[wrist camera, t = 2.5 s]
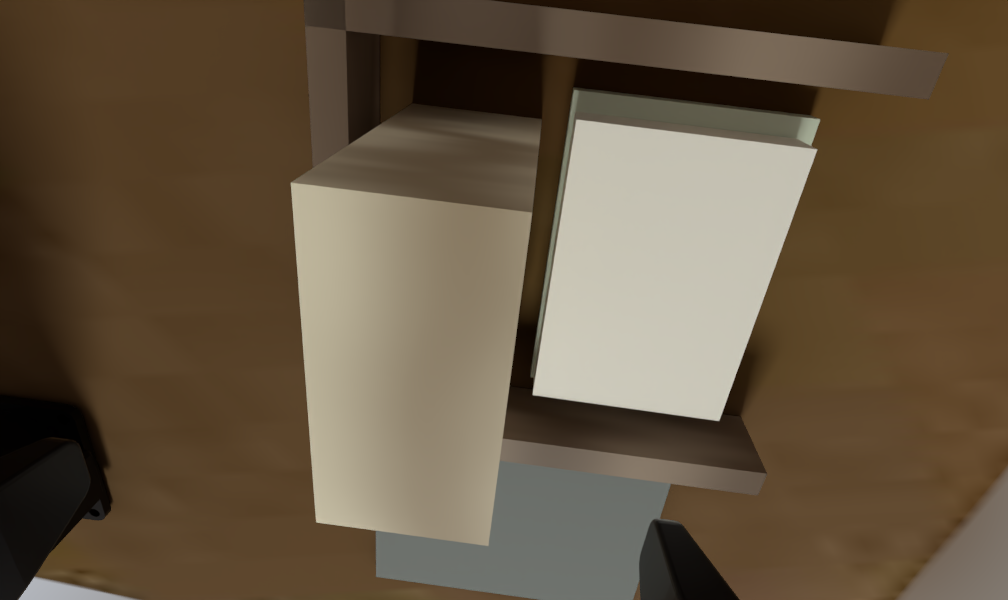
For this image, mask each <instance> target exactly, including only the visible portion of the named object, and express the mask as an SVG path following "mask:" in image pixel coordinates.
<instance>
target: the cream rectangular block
mask: <svg viewBox="0 0 1008 600" xmlns="http://www.w3.org/2000/svg"><path fill="white" fill-rule="evenodd" d="M541 124H542V119H537V118H529V117H521V116H512V115H504V114H496V113H487V112H479V111H471V110H463V109H454V108H446V107H438V106H429V105H421V104H413V103H412V104H411V105H409V106H408V107H406V108H405V109H403V110H402V111H400V112H398V113H397V114H395V115H394V116H392V117H391V118H389V119H388V120H386V121H385V122H383V123H382V124H380V125H379V126H377V127H375V128H374V129H372V130H371V131H369V132H368V133H366V134H365V135H363V136H362V137H360V138H359V139H357V140H355V141H354V142H352V143H351V144H349V145H348V146H346V147H345V148H343V149H342V150H340V151H339V152H337V153H336V154H334V155H332V156H331V157H329V158H328V159H326V160H325V161H323V162H322V163H320V164H319V165H317V166H316V167H314V168H312V169H311V170H309V171H308V172H306V173H305V174H303V175H302V176H300V177H299V178H297V179H296V180H294V181H293V182H291V192H292V205H293V219H294V232H295V245H296V259H297V272H298V286H299V299H300V312H301V326H302V339H303V353H304V366H305V379H306V393H307V406H308V420H309V433H310V446H311V460H312V473H313V486H314V500H315V513H316V522H317V523H325V524H332V525H339V526H347V527H354V528H361V529H368V530H376V531H383V532H390V533H397V534H405V535H412V536H419V537H427V538H434V539H441V540H448V541H456V542H463V543H470V544H477V545H485V546H488V545H489V537H490V530H491V522H492V515H493V507H494V499H495V492H496V484H497V477H498V469H499V461H500V454H501V446H502V439H503V431H504V424H505V416H506V408H507V401H508V393H509V386H510V378H511V370H512V363H513V355H514V348H515V340H516V333H517V325H518V317H519V310H520V302H521V295H522V287H523V279H524V272H525V264H526V257H527V249H528V242H529V234H530V226H531V219H532V211H533V201H534V192H535V182H536V172H537V163H538V153H539V144H540V134H541Z"/></svg>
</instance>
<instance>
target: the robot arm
mask: <svg viewBox="0 0 1008 600" xmlns="http://www.w3.org/2000/svg"><path fill="white" fill-rule="evenodd" d="M110 511H111V506H110V503H109V500H108V497H107V494H106V490H105V487H104V484H103V481H102V477H101V474H100V471H99V468H98V465H97V461H96V458H95V455H94V452H93V448H92V445H91V442H90V439H89V436H88V432H87V429H86V426H85V423H84V419H83V416H82V414H81V412H80V411H79V410H78V409H77V408H75V407H74V406H71V405H67V404H60V403H53V402H45V401H38V400H30V399H23V398H15V397H8V396H0V600H18V599H19V598H20V597H21V595H22V594H23V592H24V591H25V590H26V588H27V587H28V585H29V584H30V582H31V581H32V579H33V578H34V576H35V575H36V573H37V572H38V570H39V569H40V567H41V566H42V564H43V562H44V561H45V559H46V558H47V556H48V555H49V553H50V552H51V551H52V550H53V549H54V548H55V547H56V546H57V545H58V544H59V543H60V542H61V541H62V539H63V538H64V537H65V536H66V535H67V534H68V533H69V532H70V531H71V530H72V529H73V528H74V527H75V525H76V524H77V523H78V522H79V521H80V520H81V519H82V518H84V519H91V520H102V519H104V518H105V517H106V516H107V515H108V513H109V512H110ZM639 578H640V596H641V600H739V598H738V597H737V596H736V594H735V593H734V592H733V591H732V589H731V588H730V587H729V585H728V584H727V583H726V581H725V580H724V579H723V577H722V576H721V575H720V573H719V572H718V571H717V570H716V568H715V567H714V566H713V564H712V563H711V562H710V560H709V559H708V558H707V556H706V555H705V554H704V552H703V551H702V550H701V549H700V547H699V546H698V545H697V543H696V542H695V541H694V539H693V538H692V537H691V535H690V534H689V533H688V531H687V530H686V529H685V528H684V526H683V525H682V524H681V523H679V522H678V521H673V520H665V519H658V518H656V519H653V520H652V521H651V523H650V525H649V528H648V531H647V534H646V537H645V541H644V544H643V547H642V550H641V553H640V559H639Z"/></svg>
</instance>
